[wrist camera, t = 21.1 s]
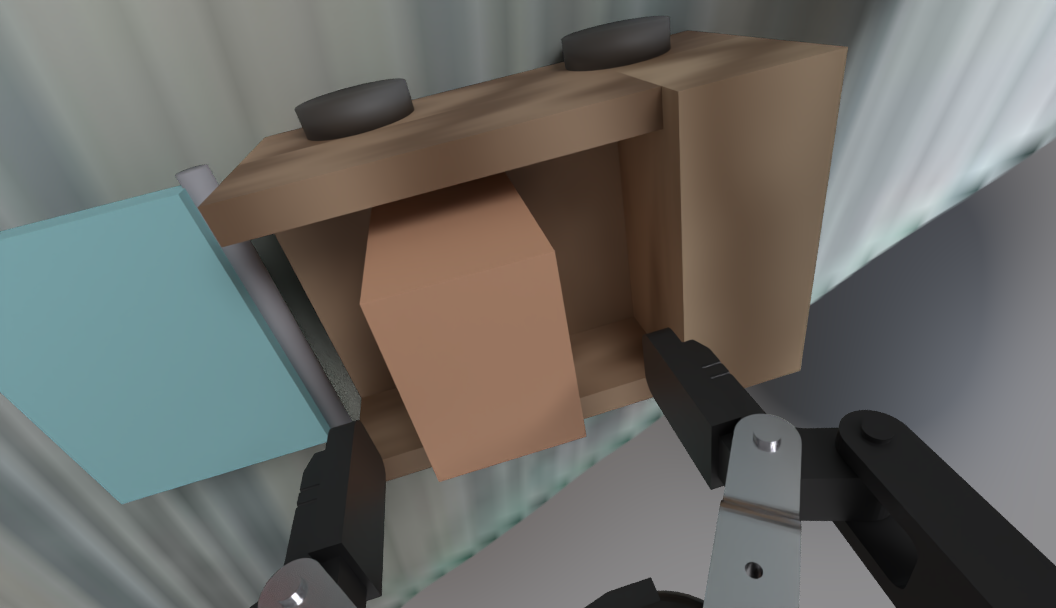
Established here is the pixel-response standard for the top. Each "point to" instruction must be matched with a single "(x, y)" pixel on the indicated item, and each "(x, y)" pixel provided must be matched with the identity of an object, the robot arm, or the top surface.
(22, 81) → the top surface
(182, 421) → the tailgate
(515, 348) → the tapered tan wedge
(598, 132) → the truck bed
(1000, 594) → the robot arm
